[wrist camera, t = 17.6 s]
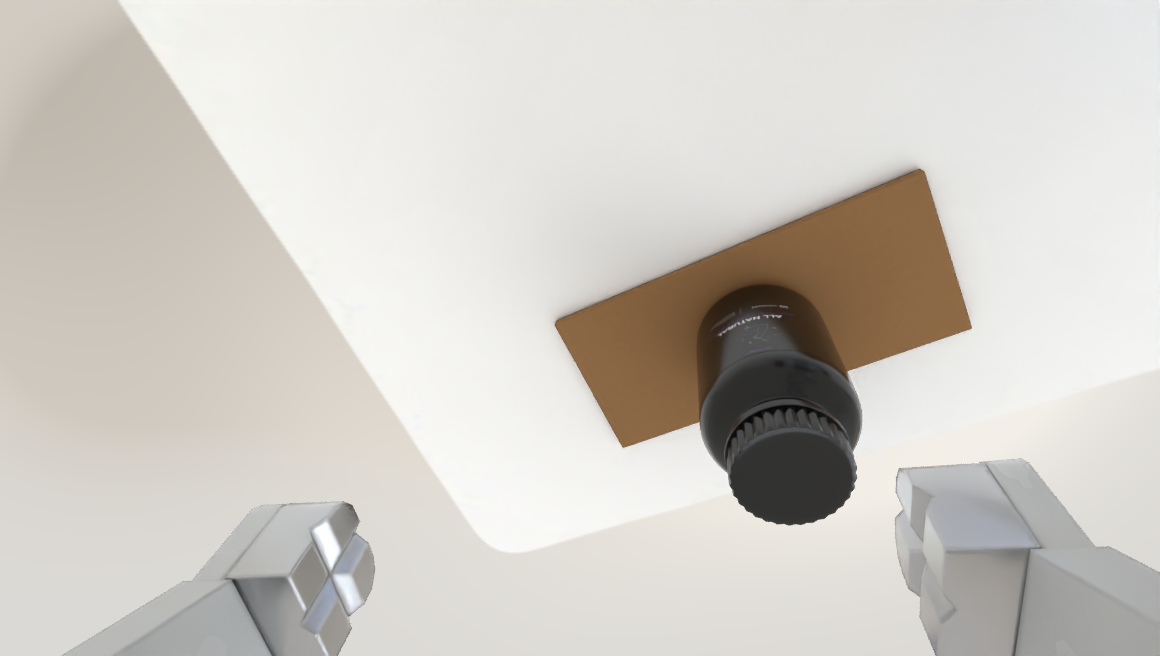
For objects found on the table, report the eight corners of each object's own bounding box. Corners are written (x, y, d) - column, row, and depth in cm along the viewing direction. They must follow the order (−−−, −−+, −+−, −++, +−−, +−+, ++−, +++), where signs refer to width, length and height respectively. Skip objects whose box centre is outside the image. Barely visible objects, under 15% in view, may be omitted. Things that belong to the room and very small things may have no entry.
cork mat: (920, 168, 32) (924, 170, 31) (967, 324, 35) (972, 328, 34) (555, 320, 38) (554, 324, 37) (623, 442, 41) (622, 448, 40)
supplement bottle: (746, 255, 34) (781, 367, 23) (851, 324, 35) (932, 462, 24) (669, 352, 37) (669, 492, 26) (768, 413, 38) (808, 573, 27)
